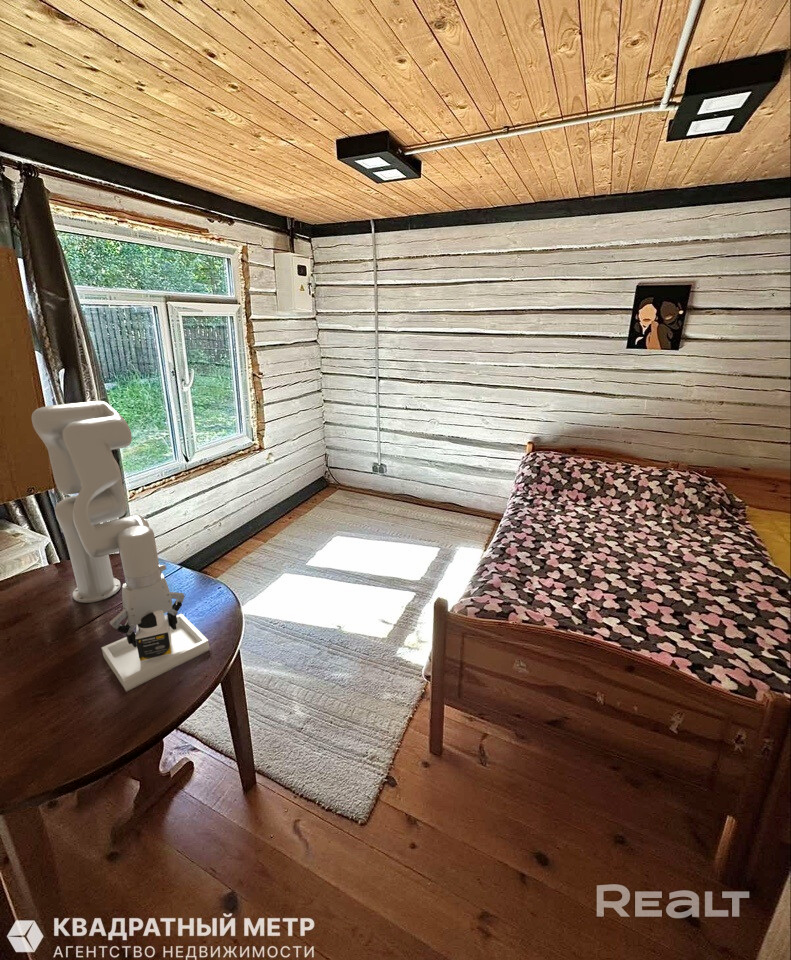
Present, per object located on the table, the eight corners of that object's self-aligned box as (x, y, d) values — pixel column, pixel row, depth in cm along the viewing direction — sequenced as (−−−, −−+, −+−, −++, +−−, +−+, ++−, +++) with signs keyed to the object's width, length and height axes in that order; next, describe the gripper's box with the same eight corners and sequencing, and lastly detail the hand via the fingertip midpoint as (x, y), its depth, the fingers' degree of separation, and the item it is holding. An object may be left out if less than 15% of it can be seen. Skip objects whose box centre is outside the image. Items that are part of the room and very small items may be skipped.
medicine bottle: (139, 662, 115) (131, 621, 110) (141, 643, 121) (133, 604, 117) (171, 654, 118) (165, 614, 113) (171, 636, 124) (165, 598, 119)
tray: (103, 657, 118) (101, 647, 117) (182, 622, 132) (181, 613, 131) (126, 691, 108) (124, 681, 107) (209, 649, 122) (208, 640, 121)
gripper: (173, 558, 121) (181, 614, 127) (97, 584, 109) (110, 644, 115) (186, 569, 116) (194, 626, 122) (108, 597, 104) (121, 660, 110)
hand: (153, 635), depth 118 cm, fingers closed on medicine bottle, 9 cm apart
